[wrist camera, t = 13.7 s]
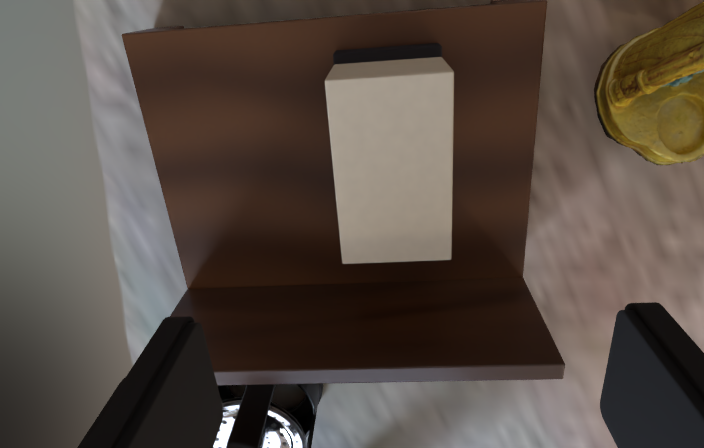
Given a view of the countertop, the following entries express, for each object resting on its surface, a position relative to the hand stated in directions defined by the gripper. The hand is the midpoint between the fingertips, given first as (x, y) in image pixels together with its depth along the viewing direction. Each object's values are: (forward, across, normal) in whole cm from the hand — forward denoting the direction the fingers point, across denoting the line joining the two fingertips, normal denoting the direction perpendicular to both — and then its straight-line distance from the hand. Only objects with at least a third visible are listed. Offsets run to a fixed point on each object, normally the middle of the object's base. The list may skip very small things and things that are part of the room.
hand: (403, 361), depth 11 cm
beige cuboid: (+18, 0, +1) cm, 18 cm away
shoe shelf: (+22, +3, +2) cm, 23 cm away
